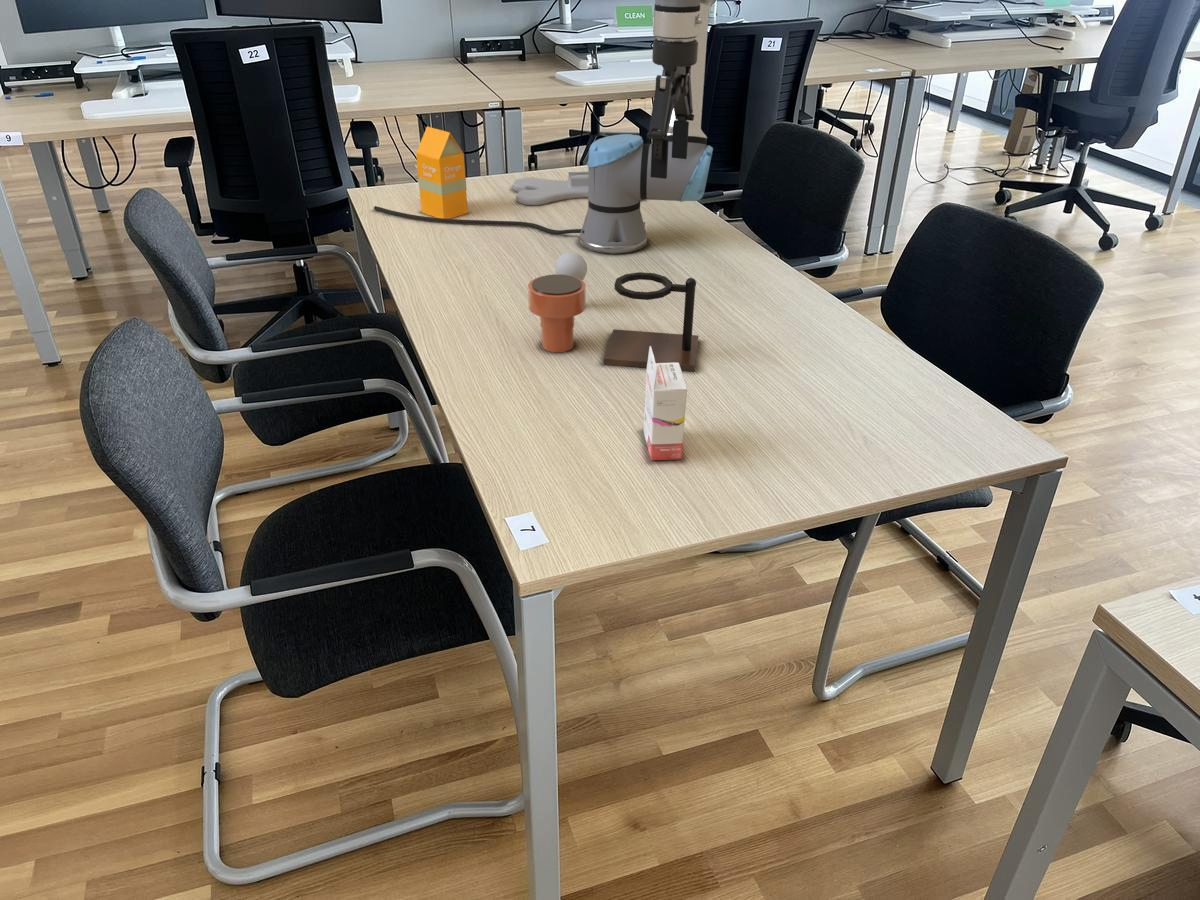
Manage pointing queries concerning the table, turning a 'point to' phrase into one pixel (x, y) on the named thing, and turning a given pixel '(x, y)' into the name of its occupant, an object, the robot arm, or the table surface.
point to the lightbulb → (571, 265)
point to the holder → (551, 189)
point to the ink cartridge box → (664, 409)
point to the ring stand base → (636, 344)
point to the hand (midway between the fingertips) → (669, 167)
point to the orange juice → (441, 175)
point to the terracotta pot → (557, 308)
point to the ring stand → (669, 287)
